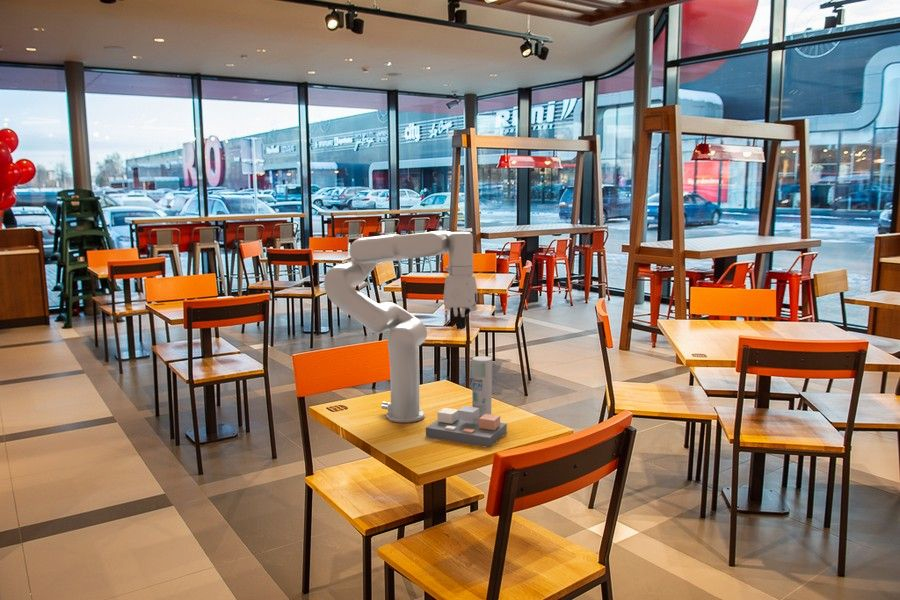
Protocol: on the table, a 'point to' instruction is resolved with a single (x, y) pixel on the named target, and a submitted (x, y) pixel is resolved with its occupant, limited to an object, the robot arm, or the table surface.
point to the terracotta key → (489, 421)
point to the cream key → (447, 415)
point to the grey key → (468, 413)
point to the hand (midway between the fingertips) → (460, 328)
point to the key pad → (465, 432)
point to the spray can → (482, 384)
